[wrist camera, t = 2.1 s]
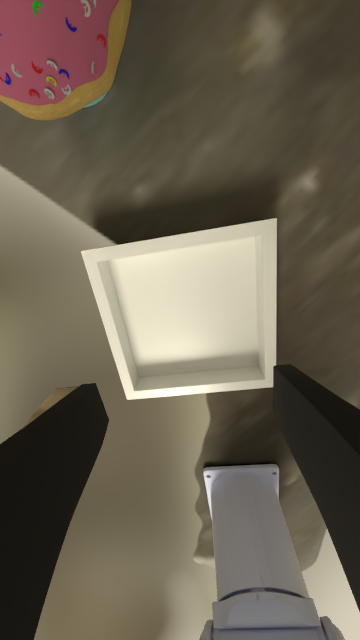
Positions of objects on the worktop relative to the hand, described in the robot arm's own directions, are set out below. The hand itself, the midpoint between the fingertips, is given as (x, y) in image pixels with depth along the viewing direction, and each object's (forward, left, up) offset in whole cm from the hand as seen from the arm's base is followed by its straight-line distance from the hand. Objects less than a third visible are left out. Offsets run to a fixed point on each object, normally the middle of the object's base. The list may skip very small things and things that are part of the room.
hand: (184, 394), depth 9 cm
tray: (0, 0, -9) cm, 9 cm away
